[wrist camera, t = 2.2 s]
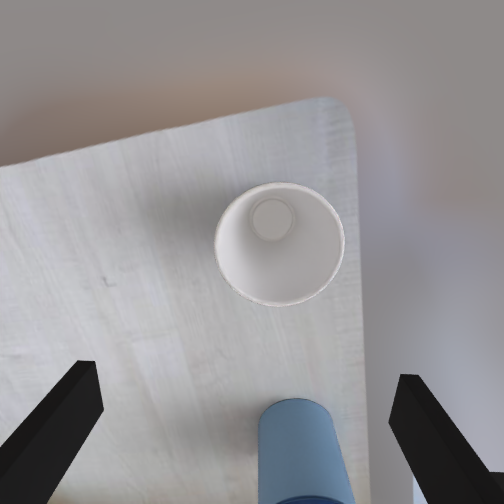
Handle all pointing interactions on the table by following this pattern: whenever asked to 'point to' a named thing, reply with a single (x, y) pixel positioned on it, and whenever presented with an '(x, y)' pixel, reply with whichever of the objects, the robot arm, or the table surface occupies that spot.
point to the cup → (279, 244)
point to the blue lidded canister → (300, 456)
